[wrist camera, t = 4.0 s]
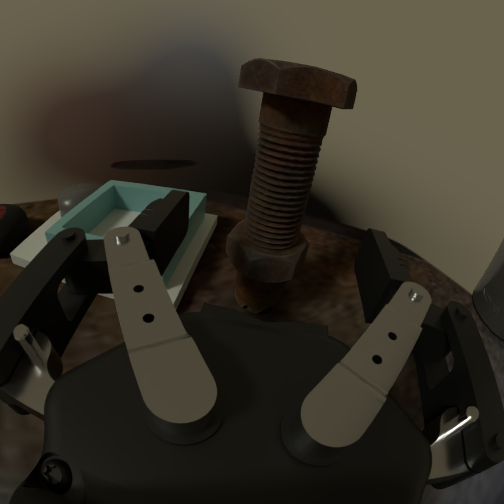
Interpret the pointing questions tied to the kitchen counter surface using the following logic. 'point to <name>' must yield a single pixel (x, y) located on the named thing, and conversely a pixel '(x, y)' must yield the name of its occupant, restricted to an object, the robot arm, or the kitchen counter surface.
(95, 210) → the chassis bay
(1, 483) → the kitchen counter surface
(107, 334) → the kitchen counter surface
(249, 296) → the bolt
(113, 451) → the robot arm
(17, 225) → the toy motorcycle
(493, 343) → the kitchen counter surface
